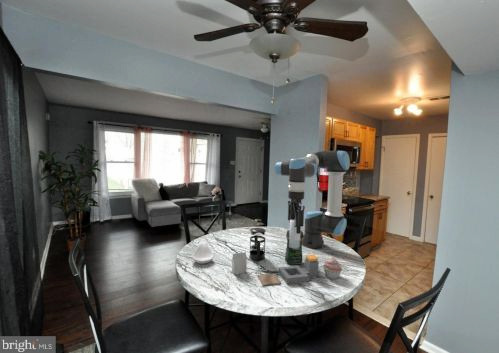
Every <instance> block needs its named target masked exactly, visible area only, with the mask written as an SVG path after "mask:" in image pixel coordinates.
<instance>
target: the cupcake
mask: <svg viewBox="0 0 499 353" xmlns="http://www.w3.org/2000/svg"><path fill="white" fill-rule="evenodd" d="M322 266H323V267H322V268H323V269H324V275H325V277H326V278H328V279H331V280H338V279H339V277H340V275H341V272H342V271H343V269H342V267H341V263H340V262H339V261H338V260H337V259H336V258H335V257H332V256H331V258H329V259H327V260H326V261H324V263H323V264H322Z"/></svg>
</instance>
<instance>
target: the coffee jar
mask: <svg viewBox="0 0 499 353" xmlns="http://www.w3.org/2000/svg"><path fill="white" fill-rule="evenodd" d="M289 231H290V229H287V231H286V235H285V237H286V249H285V256H284V260H285V262H286V263H287V264H289V265H301V264H302V263H303V245H302V241H303V239H304V236H303V235H304V231H302V229H301V230H300V244H299V248H296V249H295V248H290V247H289Z"/></svg>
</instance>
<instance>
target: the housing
mask: <svg viewBox="0 0 499 353" xmlns="http://www.w3.org/2000/svg"><path fill="white" fill-rule="evenodd" d="M319 263H320V262H319V260H318V261H316V262H310V261H308V259H307V258H305V257H304V267H300V266H299V265H292V266H290V265H289V266H281V267H280V266H279V267H278V275H279V276H280V277H281V279H282V280H283V281H284V283H285V284H286V285H294V284H295V285H296V284H302V283H303V284H304V283H309V279H315V278H319Z"/></svg>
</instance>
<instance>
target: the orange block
mask: <svg viewBox="0 0 499 353" xmlns="http://www.w3.org/2000/svg"><path fill="white" fill-rule="evenodd" d="M305 258H307V259H308V261H310V262H316V261H318V262H319V257H317V256H316V255H315V254H306V255H305V257H304V259H305Z"/></svg>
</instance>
